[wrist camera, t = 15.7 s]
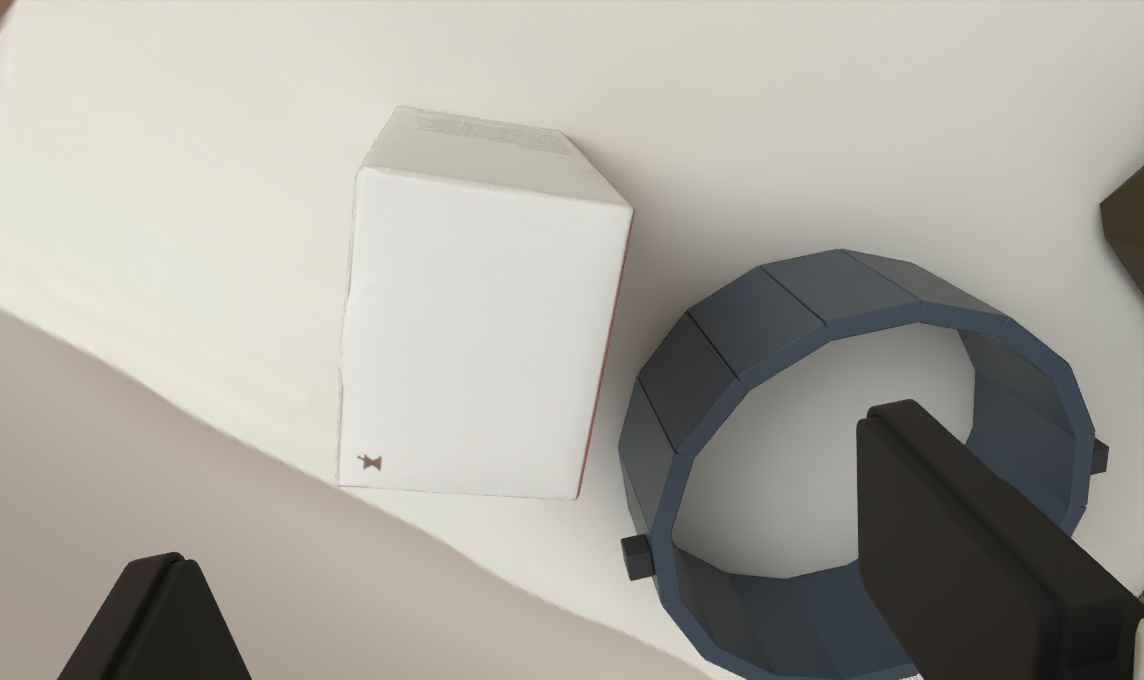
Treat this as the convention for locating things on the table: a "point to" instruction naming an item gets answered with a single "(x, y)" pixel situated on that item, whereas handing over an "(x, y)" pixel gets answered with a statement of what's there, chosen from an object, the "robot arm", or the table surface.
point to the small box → (476, 309)
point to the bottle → (1127, 225)
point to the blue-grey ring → (763, 349)
